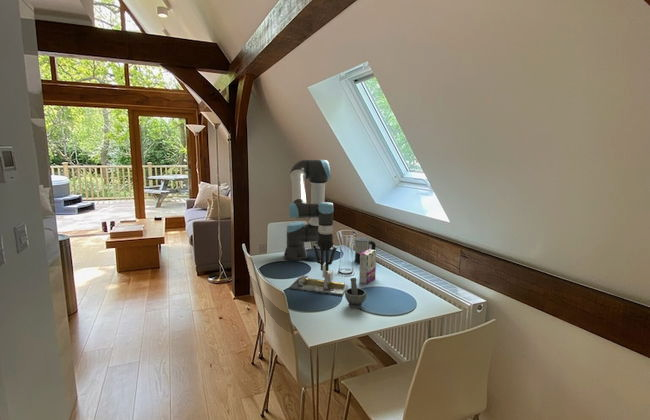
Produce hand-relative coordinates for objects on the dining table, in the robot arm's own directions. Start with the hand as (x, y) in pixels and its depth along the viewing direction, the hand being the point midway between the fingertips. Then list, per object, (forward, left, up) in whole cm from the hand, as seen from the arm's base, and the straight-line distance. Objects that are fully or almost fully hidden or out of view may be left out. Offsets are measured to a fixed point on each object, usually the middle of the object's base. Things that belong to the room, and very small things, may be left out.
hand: (324, 276), depth 183 cm
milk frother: (-52, +9, -6) cm, 53 cm away
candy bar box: (-17, +20, -6) cm, 27 cm away
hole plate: (+2, -2, -6) cm, 6 cm away
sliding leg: (+2, +2, -4) cm, 5 cm away
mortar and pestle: (+16, +20, -6) cm, 26 cm away
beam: (+2, -2, -5) cm, 5 cm away
